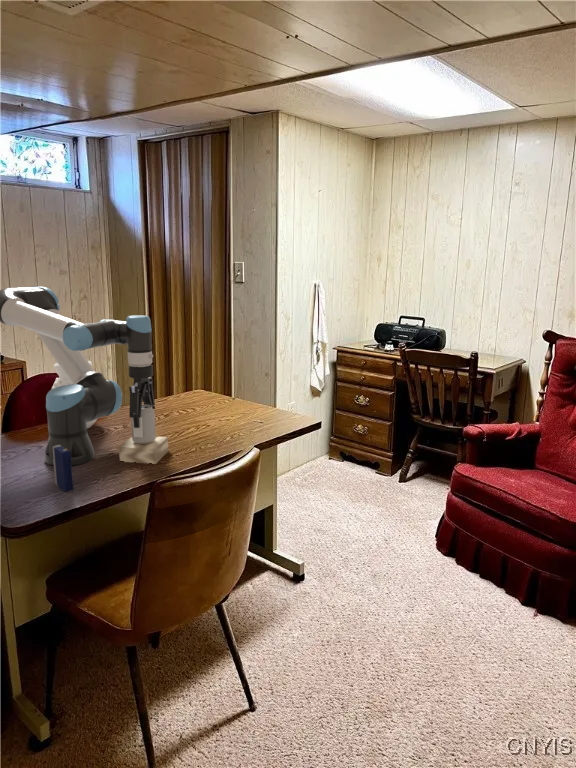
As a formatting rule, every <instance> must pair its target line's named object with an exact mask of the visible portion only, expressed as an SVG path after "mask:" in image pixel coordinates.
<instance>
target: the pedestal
mask: <svg viewBox="0 0 576 768" xmlns="http://www.w3.org/2000/svg"><path fill="white" fill-rule="evenodd" d="M118 448H119V449H118V455H119V462H120V461H124V462H123V463H134V462H136V463H137V464H149V463H152V464H153V465H156V464H158V462H159V461H161V459H162V458H163V457H164V456H165V455H167V453H168V452H169V437H167V436H156V439H155V440H154V441H153V442H152V443H149V444H136V443H135V442H134V441H133V440H132V436H131V437H130V438H128V439H127V440H126V441H124V442H123V443H122V444H121V445H120V446H119V447H118Z"/></svg>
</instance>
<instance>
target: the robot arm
mask: <svg viewBox="0 0 576 768" xmlns="http://www.w3.org/2000/svg"><path fill="white" fill-rule="evenodd" d="M59 303H60V301H59V298H58V296H57V295H56V293H55V292H54V291H53V290H52V289H50V287H49V288H48V287H45V286H39V285H33V286H32V285H31V286H28V287H27V286H25V287H24V286H23V287H22V286H21V287H6V288H2V289H0V323H1V324H3V325H6V326H9V327H18V326H19V327H22V328H23V329H27V330H29V331H31V332H35V333H36V334H37V336H38V337H39V338H40V340H41V341H42V342H43V344H44V345H45V347H46V348H47V350H48V351H49V353H50V354H51V356H52V357H53V358H54V360H55V361H56V362H55V363H58V364H59V366H60V367H61V369H62V370H63V372H64V373H65V375H66V376H67V378H68V379H69V381H70V382H71V383H72V384H70V385H66V386H59V387H56V388H54V389H52V388H51V389H50V390H48V392H47V394H46V396H45V409H46V415H47V417H46V418H47V430H48V440H47V445H46V447H45V452H44V461H45V463H46V464H48V465H49V466H53V467H54V464H53V446H56V445H61V446H63V447H64V448H66V449H67V450H69V451H70V454H71V467H72V465H73V466H78V465H81V464H85V463H87V461H88V462H90V461H91V459H92V460H93V459H94V458H95V456H96V455H95V448H94V446H93V444H92V443H93V442H92V441H91V439H90V436H89V434H88V428H87V422H89V421H92V420H95V419H97V420H98V419H101V418H104V417H109V416H110V415H112V414H115V413H116V412H118V410H119V409H120V408H121V406H122V403H123V393H122V389H121V387H120V385H119V384H118V383H117V382H116V381H115V380H112V379H106V377H105V376H104V375H103V373H102V372H99V371H95V370H94V368H93V367H91V365H90V364H89V362H88V361H87V358H86V357H85V355H84V353H82V351H86V350H90V349H93V348H98V347H106V346H110V345H125V346H127V363H128V376H129V378H131V379H133V385H130V386H129V387H128V388H129V411H128V413H129V414H128V416H129V418H130V419H131V418H133V430H134V437H143V430H142V417H141V408H142V405H151V406H152V408H153V409H154V410H155V409H156V406H155V405H156V401H155V393H154V384H153V383H154V380H153V376H154V367H153V366H154V365H153V364H152V363H153V358H154V354H153V349H152V348H153V345H152V344H153V343H152V338H153V337H152V336H153V335H152V331H153V330H152V323H151V322H152V321H151V318H150V316H148V315H143V314H142V315H139V314H138V315H137V314H135V315H127V317H126V318H125V320H117V319H113V318H109V319H101V320H100V321H98V322H91V323H85V322H84V323H83V322H81V321H78V320H75V319H72V318H69V317H67V316H63V315H61V314H60V304H59Z"/></svg>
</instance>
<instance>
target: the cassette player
mask: <svg viewBox="0 0 576 768" xmlns="http://www.w3.org/2000/svg"><path fill="white" fill-rule="evenodd" d="M53 464H54V466H53V475H54V484H56V486H57V485H58V486H59V487H60V488H59V487H58V486H57V487H58V488H59V489H60V490H62V489H63V490H64V491H63V490H62V491H63V492H65V491H68V492H70V491H69V490H72V491H74V482H73V471H72V466H71V454H70V451H69V450H67V449H66V448H64V447H63V446H61V445H56V446H53Z"/></svg>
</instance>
